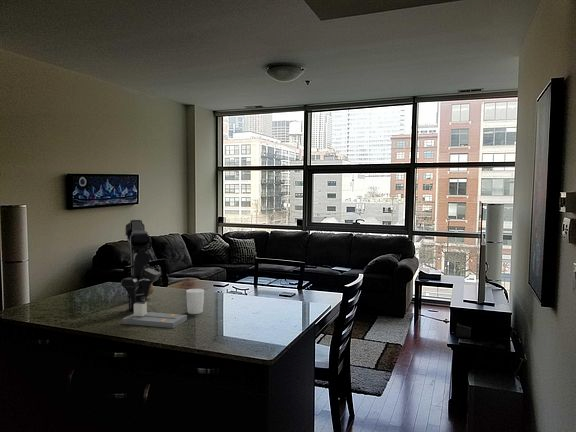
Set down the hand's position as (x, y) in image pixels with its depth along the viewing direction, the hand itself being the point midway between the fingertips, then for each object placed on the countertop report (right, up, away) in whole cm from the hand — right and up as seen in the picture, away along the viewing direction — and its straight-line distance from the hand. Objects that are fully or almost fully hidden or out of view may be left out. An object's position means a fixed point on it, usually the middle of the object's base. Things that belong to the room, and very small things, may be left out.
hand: (140, 299), depth 183 cm
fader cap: (0, -7, 0) cm, 7 cm away
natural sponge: (-11, -7, +39) cm, 41 cm away
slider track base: (+7, -9, -1) cm, 11 cm away
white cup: (+20, -9, +14) cm, 26 cm away
